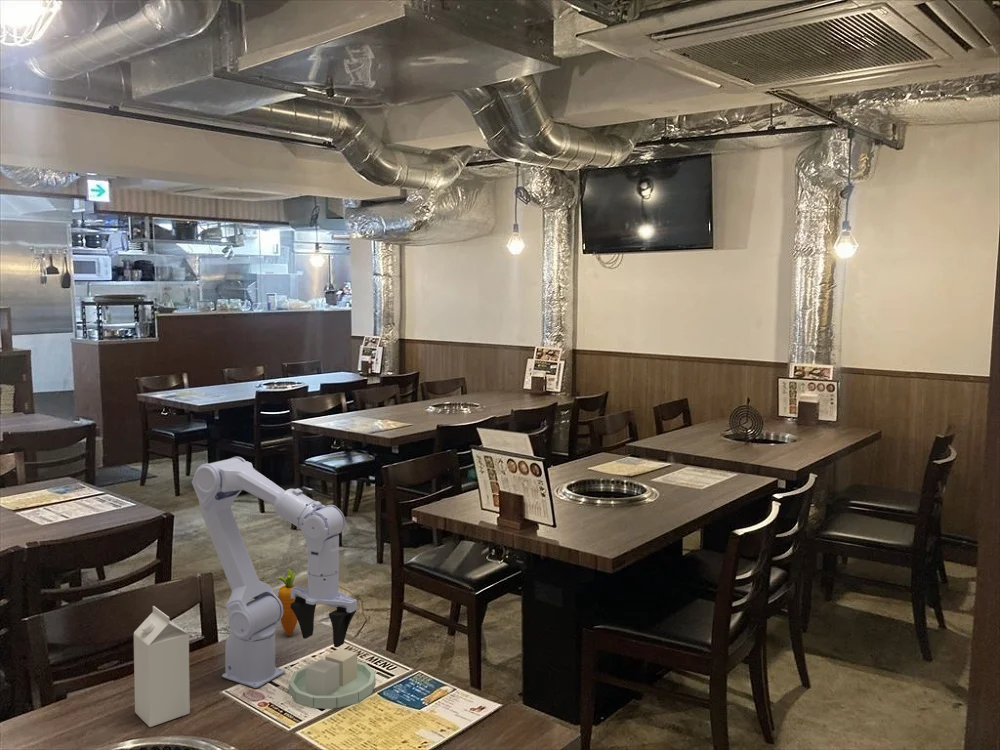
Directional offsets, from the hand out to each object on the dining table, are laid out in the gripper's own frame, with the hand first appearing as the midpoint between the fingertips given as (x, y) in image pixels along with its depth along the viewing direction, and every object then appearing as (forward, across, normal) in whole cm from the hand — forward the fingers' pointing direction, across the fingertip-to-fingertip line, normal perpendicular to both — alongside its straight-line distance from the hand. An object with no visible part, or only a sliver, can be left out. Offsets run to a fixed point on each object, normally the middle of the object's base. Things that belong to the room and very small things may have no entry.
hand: (323, 641), depth 149 cm
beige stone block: (+10, 0, +5) cm, 11 cm away
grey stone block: (+10, 0, 0) cm, 10 cm away
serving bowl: (+10, 0, +3) cm, 11 cm away
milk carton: (+11, -20, -20) cm, 30 cm away
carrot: (+11, -24, +17) cm, 31 cm away
